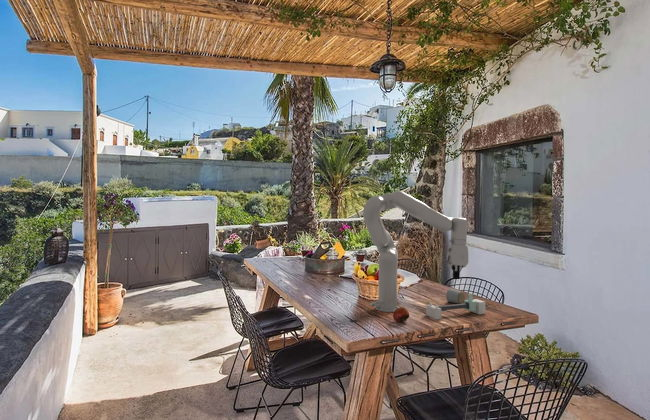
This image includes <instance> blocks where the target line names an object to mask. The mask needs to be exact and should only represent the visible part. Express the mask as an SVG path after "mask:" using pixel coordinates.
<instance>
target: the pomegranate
mask: <svg viewBox="0 0 650 420" xmlns="http://www.w3.org/2000/svg"><path fill="white" fill-rule="evenodd" d="M399 307H400V306H399ZM396 308H397V307H396ZM392 313H393V314H392V318H393V320H394V321H395V322H396V323H404V325H407V324H406V321H407V320H408V319H409V318H410V312H409V311H408V310H407V309H406V308H405V307H403V306H402V307H400V308H397V309H396V310H395V311H394V312H392Z"/></svg>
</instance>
